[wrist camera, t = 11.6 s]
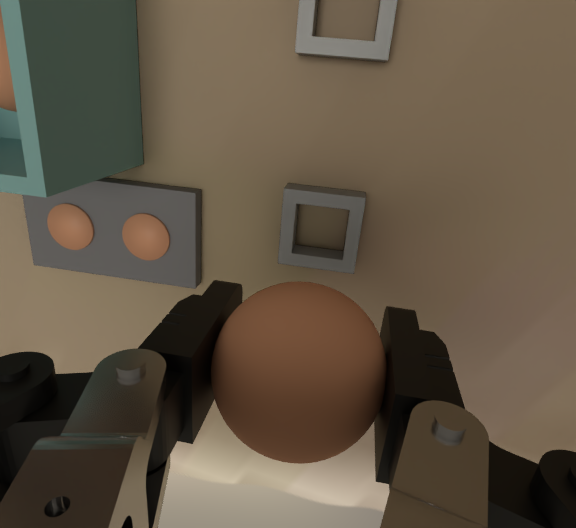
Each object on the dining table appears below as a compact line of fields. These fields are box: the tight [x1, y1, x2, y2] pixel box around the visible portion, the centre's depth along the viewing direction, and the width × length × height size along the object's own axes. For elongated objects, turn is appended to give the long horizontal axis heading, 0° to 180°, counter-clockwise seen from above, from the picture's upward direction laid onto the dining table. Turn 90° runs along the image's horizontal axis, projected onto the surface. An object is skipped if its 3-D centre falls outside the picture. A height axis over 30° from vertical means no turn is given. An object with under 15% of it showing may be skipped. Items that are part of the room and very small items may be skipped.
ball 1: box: [0, 6, 17, 112], centre depth 17 cm, size 4×4×4 cm
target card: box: [22, 178, 201, 289], centre depth 22 cm, size 9×5×1 cm, turn 85°
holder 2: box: [278, 183, 366, 274], centre depth 20 cm, size 4×4×1 cm
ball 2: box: [211, 282, 387, 463], centre depth 10 cm, size 4×4×4 cm
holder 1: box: [295, 0, 397, 62], centre depth 16 cm, size 4×4×1 cm
